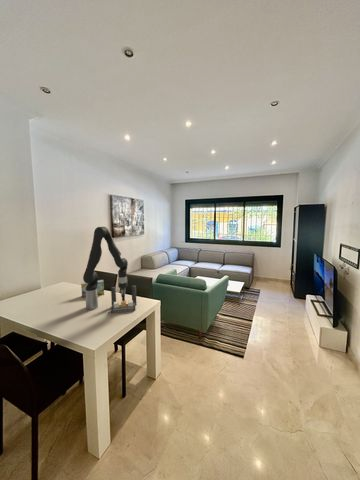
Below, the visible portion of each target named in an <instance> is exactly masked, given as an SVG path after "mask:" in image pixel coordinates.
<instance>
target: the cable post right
mask: <svg viewBox="0 0 360 480" xmlns="http://www.w3.org/2000/svg"><path fill="white" fill-rule="evenodd" d="M131 300H133V303H134V302H135V306H137V285H132V286H131Z"/></svg>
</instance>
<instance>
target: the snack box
mask: <svg viewBox="0 0 360 480" xmlns="http://www.w3.org/2000/svg"><path fill="white" fill-rule="evenodd" d="M80 283H81V284H80V285H81V289H80V290H81V298H86V286H87V284H88V283H85V282H84V281H82V282H80ZM97 295H98V296H103V295H104V296H105V283H104V279H98V285H97Z"/></svg>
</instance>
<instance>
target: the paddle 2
mask: <svg viewBox="0 0 360 480" xmlns="http://www.w3.org/2000/svg"><path fill="white" fill-rule="evenodd" d="M127 302H128V303H127V304H128V306H133V300H132V299H131V300H128V301H127Z"/></svg>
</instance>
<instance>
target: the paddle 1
mask: <svg viewBox="0 0 360 480" xmlns="http://www.w3.org/2000/svg"><path fill="white" fill-rule="evenodd" d="M119 305H120V302H119V301H116V302H114V308H117V307H119Z"/></svg>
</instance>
